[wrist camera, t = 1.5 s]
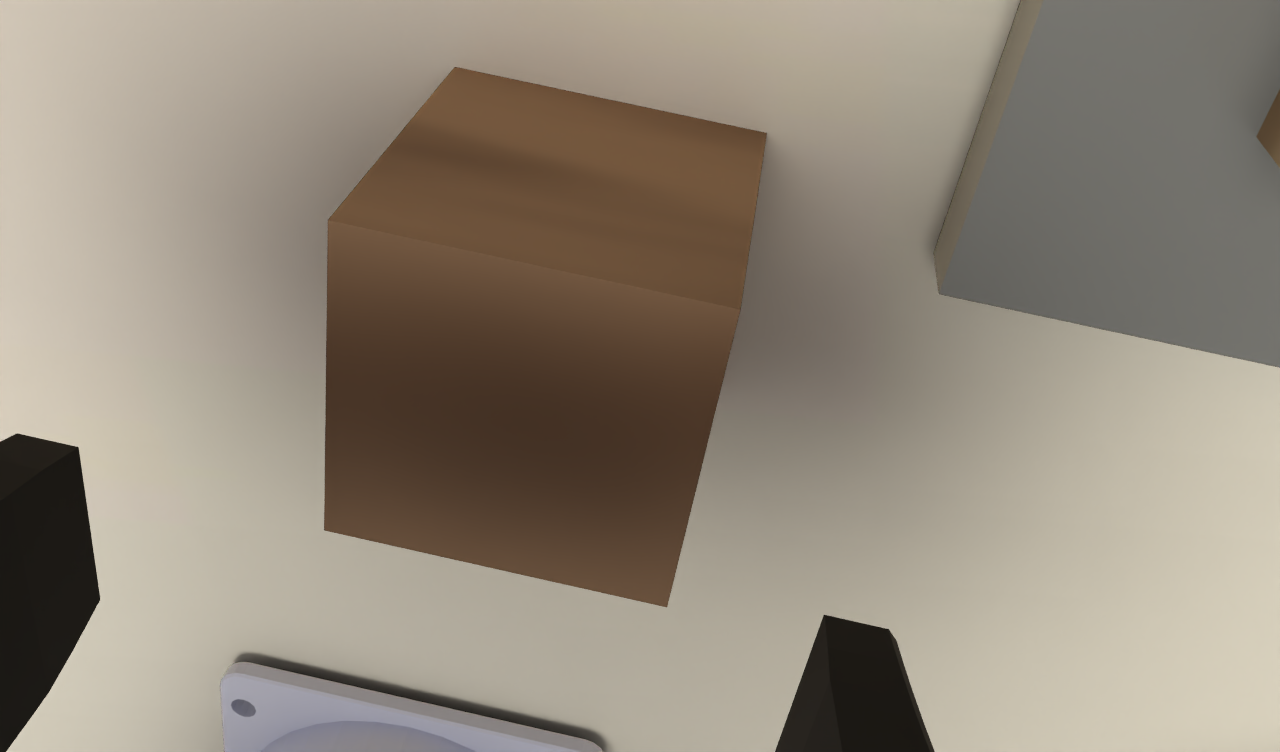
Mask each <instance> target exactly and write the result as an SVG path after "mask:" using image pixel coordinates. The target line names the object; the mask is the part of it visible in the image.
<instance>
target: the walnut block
mask: <svg viewBox="0 0 1280 752" xmlns="http://www.w3.org/2000/svg"><path fill="white" fill-rule="evenodd" d="M766 136H767V133H764V132H759V131H754V130H750V129H745V128H740V127H736V126H731V125H726V124H721V123H717V122H712V121H707V120H703V119H698V118H693V117H688V116H684V115H679V114H674V113H669V112H665V111H660V110H655V109H651V108H646V107H641V106H636V105H632V104H627V103H622V102H618V101H613V100H608V99H603V98H599V97H594V96H589V95H585V94H580V93H575V92H570V91H566V90H561V89H556V88H552V87H547V86H542V85H537V84H533V83H528V82H523V81H519V80H514V79H509V78H504V77H500V76H495V75H490V74H486V73H481V72H476V71H471V70H467V69H462V68H457V67H454V69H453V70H452V71H451V72H450V73H449V75H448V76H447V77H446V78H445V80H444V81H443V82H442V83H441V84H440V86H439V87H438V88H437V89H436V90H435V92H434V93H433V94H432V95H431V96H430V98H429V99H428V100H427V101H426V102H425V104H424V105H423V106H422V107H421V108H420V110H419V111H418V112H417V113H416V115H415V116H414V117H413V118H412V119H411V121H410V122H409V123H408V124H407V125H406V127H405V128H404V129H403V130H402V131H401V133H400V134H399V135H398V136H397V137H396V139H395V140H394V141H393V142H392V143H391V145H390V146H389V147H388V148H387V150H386V151H385V152H384V153H383V154H382V156H381V157H380V158H379V159H378V160H377V162H376V163H375V164H374V165H373V166H372V168H371V169H370V170H369V171H368V172H367V174H366V175H365V176H364V177H363V178H362V180H361V181H360V182H359V183H358V185H357V186H356V187H355V188H354V189H353V191H352V192H351V193H350V194H349V195H348V197H347V198H346V199H345V200H344V201H343V203H342V204H341V205H340V206H339V207H338V209H337V210H336V211H335V212H334V213H333V215H332V216H331V217H330V218H329V220H328V255H327V341H326V426H325V512H324V530H325V531H330V532H334V533H339V534H343V535H348V536H352V537H357V538H361V539H365V540H370V541H374V542H379V543H383V544H388V545H392V546H397V547H401V548H405V549H410V550H414V551H419V552H423V553H428V554H432V555H437V556H441V557H446V558H450V559H454V560H459V561H463V562H468V563H472V564H477V565H481V566H486V567H490V568H495V569H499V570H503V571H508V572H512V573H517V574H521V575H526V576H530V577H535V578H539V579H544V580H548V581H552V582H557V583H561V584H566V585H570V586H575V587H579V588H584V589H588V590H592V591H597V592H601V593H606V594H610V595H615V596H619V597H624V598H628V599H633V600H637V601H641V602H646V603H650V604H655V605H659V606H664V607H667V605H668V601H669V597H670V593H671V589H672V585H673V581H674V577H675V573H676V569H677V565H678V561H679V556H680V552H681V548H682V544H683V540H684V536H685V532H686V528H687V524H688V520H689V516H690V512H691V508H692V504H693V500H694V496H695V492H696V488H697V484H698V479H699V475H700V471H701V467H702V463H703V459H704V455H705V451H706V447H707V443H708V439H709V435H710V431H711V427H712V423H713V419H714V415H715V411H716V407H717V402H718V398H719V394H720V390H721V386H722V382H723V378H724V374H725V370H726V366H727V362H728V358H729V354H730V350H731V346H732V342H733V338H734V334H735V330H736V326H737V321H738V317H739V313H740V309H741V303H742V296H743V289H744V282H745V276H746V269H747V262H748V256H749V249H750V242H751V236H752V229H753V222H754V216H755V209H756V202H757V196H758V189H759V182H760V176H761V169H762V162H763V156H764V149H765V142H766Z"/></svg>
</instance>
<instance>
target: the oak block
mask: <svg viewBox="0 0 1280 752" xmlns="http://www.w3.org/2000/svg"><path fill="white" fill-rule="evenodd" d="M1256 137H1257V138H1258V140H1259V141H1260V142H1261V144H1262V145H1263V146H1264V148H1265V149H1266V150H1267V152H1268V153H1269V154H1270V156H1271V157H1272V158H1273V160H1274V161H1275V162H1276V164H1277V165H1278V166H1279V168H1280V90H1279V92H1278V94H1277V96H1276V98H1275V100H1274V102H1273V104H1272V106H1271V108H1270V110H1269V112H1268V114H1267V116H1266V118H1265V120H1264V122H1263V124H1262V126H1261V128H1260V130H1259V132H1258V134H1257V136H1256Z"/></svg>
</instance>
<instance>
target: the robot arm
mask: <svg viewBox="0 0 1280 752" xmlns="http://www.w3.org/2000/svg"><path fill="white" fill-rule="evenodd" d="M99 601H100V594H99V587H98V580H97V573H96V566H95V560H94V553H93V546H92V539H91V532H90V525H89V518H88V511H87V504H86V497H85V490H84V483H83V476H82V469H81V462H80V455H79V448H78V447H75V446H71V445H66V444H62V443H57V442H53V441H48V440H44V439H39V438H35V437H30V436H26V435H22V434H15V435H13V436H11V437H9V438H7V439H5V440H3V441H1V442H0V752H6V751H7V750H8V748H9V747H10V745H11V744H12V743H13V741H14V740H15V739H16V737H17V736H18V734H19V733H20V732H21V730H22V729H23V728H24V726H25V725H26V723H27V722H28V721H29V719H30V718H31V717H32V715H33V714H34V712H35V711H36V710H37V708H38V707H39V705H40V704H41V703H42V701H43V700H44V698H45V697H46V695H47V694H48V693H49V691H50V689H51V687H52V686H53V684H54V682H55V681H56V679H57V677H58V675H59V674H60V672H61V670H62V668H63V667H64V665H65V663H66V661H67V660H68V658H69V656H70V655H71V653H72V651H73V649H74V647H75V646H76V644H77V642H78V640H79V638H80V636H81V634H82V632H83V631H84V629H85V627H86V625H87V623H88V621H89V619H90V617H91V616H92V614H93V612H94V610H95V608H96V606H97V604H98V603H99ZM220 692H221V708H222V724H223V740H224V752H603V751H602V749H601V748H600V747H599V746H597V745H596V744H595V743H593V742H591V741H588V740H586V739H582V738H577V737H573V736H569V735H564V734H560V733H555V732H551V731H547V730H542V729H538V728H534V727H529V726H525V725H521V724H516V723H512V722H507V721H503V720H499V719H494V718H490V717H486V716H481V715H477V714H473V713H468V712H464V711H459V710H455V709H451V708H446V707H442V706H438V705H433V704H429V703H425V702H420V701H416V700H411V699H407V698H403V697H398V696H394V695H390V694H385V693H381V692H377V691H372V690H368V689H363V688H359V687H355V686H350V685H346V684H342V683H337V682H333V681H329V680H324V679H320V678H315V677H311V676H307V675H302V674H298V673H294V672H289V671H285V670H281V669H276V668H272V667H268V666H263V665H259V664H254V663H250V662H238V663H234V664H232V665H231V666H229V667H228V669H227V670H226V672H225V674H224V675H223V677H222V679H221V683H220ZM775 752H934V749H933V746H932V744H931V741H930V738H929V736H928V733H927V730H926V728H925V725H924V722H923V719H922V717H921V714H920V711H919V708H918V705H917V703H916V700H915V697H914V694H913V691H912V688H911V685H910V682H909V679H908V676H907V673H906V670H905V667H904V664H903V661H902V657H901V654H900V651H899V648H898V644H897V641H896V639H895V638H894V636H893V635H892V634H891V632H890V631H889V629H885V628H880V627H876V626H871V625H867V624H862V623H858V622H853V621H849V620H845V619H840V618H836V617H831V616H827V615H824V616H823V619H822V622H821V625H820V628H819V630H818V633H817V636H816V639H815V642H814V644H813V647H812V650H811V653H810V656H809V658H808V661H807V664H806V667H805V670H804V672H803V675H802V678H801V681H800V684H799V686H798V689H797V692H796V695H795V698H794V700H793V703H792V706H791V709H790V712H789V714H788V717H787V720H786V723H785V726H784V728H783V731H782V734H781V737H780V740H779V742H778V745H777V748H776V751H775Z"/></svg>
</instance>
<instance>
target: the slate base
mask: <svg viewBox="0 0 1280 752" xmlns="http://www.w3.org/2000/svg"><path fill="white" fill-rule="evenodd" d="M1279 90H1280V0H1021V2H1020V4H1019V7H1018V10H1017V13H1016V16H1015V19H1014V22H1013V25H1012V28H1011V31H1010V33H1009V36H1008V39H1007V42H1006V45H1005V48H1004V51H1003V54H1002V57H1001V59H1000V62H999V65H998V68H997V71H996V74H995V77H994V80H993V83H992V86H991V88H990V91H989V94H988V97H987V100H986V103H985V106H984V109H983V112H982V115H981V117H980V120H979V123H978V126H977V129H976V132H975V135H974V138H973V141H972V143H971V146H970V149H969V152H968V155H967V158H966V161H965V164H964V167H963V170H962V172H961V175H960V178H959V181H958V184H957V187H956V190H955V193H954V196H953V198H952V201H951V204H950V207H949V210H948V213H947V216H946V219H945V222H944V225H943V227H942V230H941V233H940V236H939V239H938V242H937V245H936V248H935V251H934V253H933V254H934V262H935V270H936V277H937V285H938V293H939V294H941V295H945V296H950V297H955V298H959V299H964V300H968V301H973V302H978V303H982V304H987V305H992V306H996V307H1001V308H1006V309H1010V310H1015V311H1020V312H1024V313H1029V314H1034V315H1038V316H1043V317H1047V318H1052V319H1057V320H1061V321H1066V322H1071V323H1075V324H1080V325H1085V326H1089V327H1094V328H1099V329H1103V330H1108V331H1113V332H1117V333H1122V334H1126V335H1131V336H1136V337H1140V338H1145V339H1150V340H1154V341H1159V342H1164V343H1168V344H1173V345H1178V346H1182V347H1187V348H1191V349H1196V350H1201V351H1205V352H1210V353H1215V354H1219V355H1224V356H1229V357H1233V358H1238V359H1243V360H1247V361H1252V362H1257V363H1261V364H1266V365H1270V366H1275V367H1280V168H1279V166H1278V165H1277V164H1276V162H1275V161H1274V160H1273V158H1272V157H1271V156H1270V154H1269V153H1268V152H1267V150H1266V149H1265V148H1264V146H1263V145H1262V144H1261V142H1260V141H1259V140H1258V138H1257V137H1256V136H1257V134H1258V132H1259V130H1260V128H1261V126H1262V124H1263V122H1264V120H1265V118H1266V116H1267V114H1268V112H1269V110H1270V108H1271V106H1272V104H1273V102H1274V100H1275V98H1276V96H1277V94H1278V92H1279Z"/></svg>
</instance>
